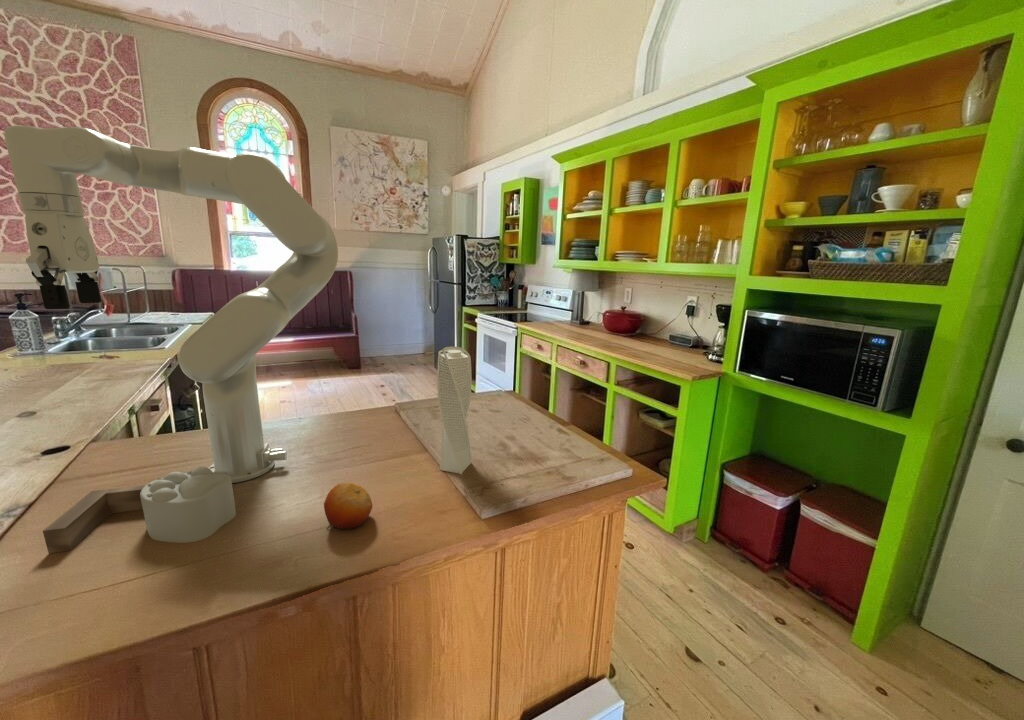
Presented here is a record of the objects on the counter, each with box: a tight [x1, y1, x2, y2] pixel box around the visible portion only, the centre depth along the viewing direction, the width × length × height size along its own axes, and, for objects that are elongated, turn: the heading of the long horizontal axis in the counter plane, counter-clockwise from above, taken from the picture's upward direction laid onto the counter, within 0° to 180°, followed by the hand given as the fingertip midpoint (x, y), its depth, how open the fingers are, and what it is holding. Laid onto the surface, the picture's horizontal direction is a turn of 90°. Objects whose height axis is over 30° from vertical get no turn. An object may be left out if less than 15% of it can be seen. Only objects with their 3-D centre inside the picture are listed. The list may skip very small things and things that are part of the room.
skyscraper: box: [436, 346, 473, 475], centre depth 94 cm, size 8×8×28 cm
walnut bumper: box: [42, 484, 147, 554], centre depth 75 cm, size 14×12×4 cm
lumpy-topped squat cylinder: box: [140, 466, 237, 543], centre depth 76 cm, size 10×13×9 cm
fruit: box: [323, 482, 373, 530], centre depth 76 cm, size 8×8×8 cm
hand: (75, 305), depth 80 cm, fingers open, 9 cm apart
